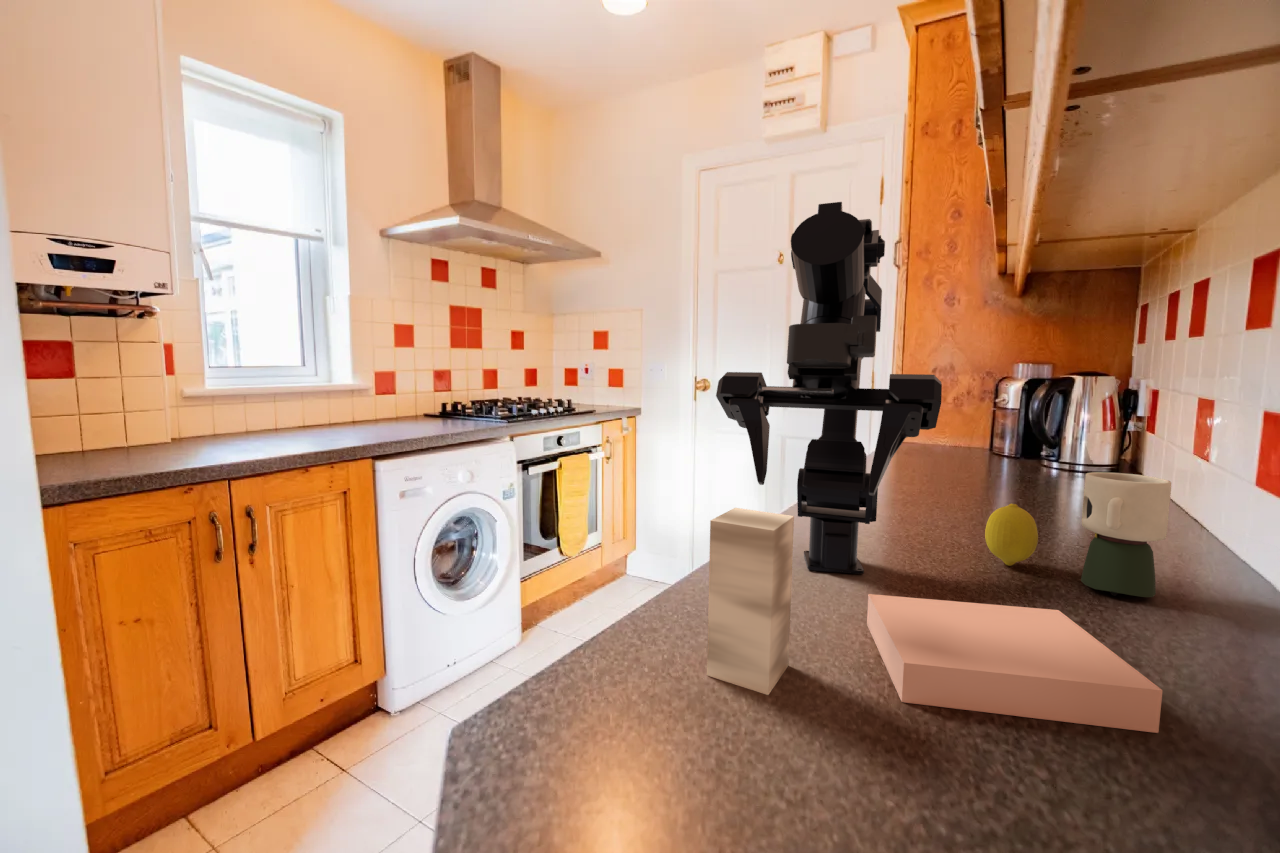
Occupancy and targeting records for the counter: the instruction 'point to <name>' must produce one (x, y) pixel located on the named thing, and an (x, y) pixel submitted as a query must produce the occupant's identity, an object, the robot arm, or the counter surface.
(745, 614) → the birch block
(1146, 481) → the character mug
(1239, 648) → the counter surface
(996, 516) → the lemon
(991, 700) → the terracotta stand
